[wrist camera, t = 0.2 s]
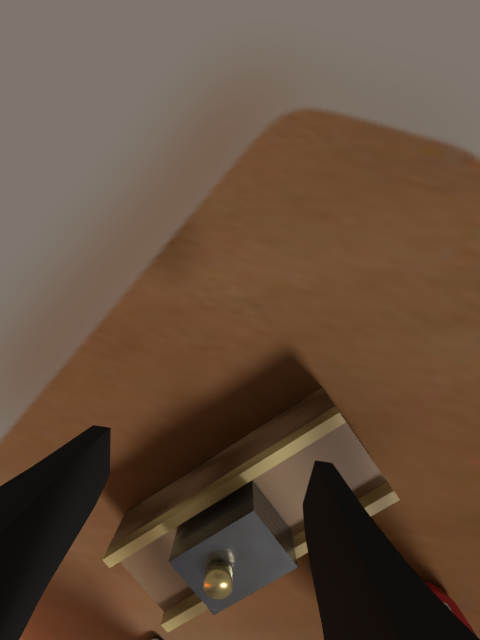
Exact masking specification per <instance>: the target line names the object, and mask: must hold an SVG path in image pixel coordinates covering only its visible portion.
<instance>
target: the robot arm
mask: <svg viewBox="0 0 480 640" xmlns="http://www.w3.org/2000/svg"><path fill="white" fill-rule="evenodd" d="M110 429H111V428H107V427H101V426H94V425H93V426H92V427H90V428H89V429H87V430H86V431H84V432H83V433H81V434H80V435H78V436H77V437H75V438H74V439H72V440H71V441H69V442H68V443H67V444H65V445H64V446H62V447H61V448H59V449H58V450H56V451H55V452H53V453H52V454H50V455H49V456H47V457H46V458H44V459H43V460H41V461H40V462H38V463H37V464H35V465H34V466H32V467H31V468H29V469H28V470H26V471H24V472H23V473H21V474H20V475H18V476H16V477H15V478H13V479H11V480H10V481H8V482H7V483H5V484H3V485H2V486H0V640H19V639H20V637H21V635H22V633H23V631H24V629H25V627H26V625H27V623H28V621H29V619H30V617H31V615H32V613H33V611H34V609H35V607H36V605H37V603H38V601H39V599H40V598H41V596H42V594H43V592H44V591H45V589H46V587H47V585H48V583H49V582H50V580H51V578H52V577H53V575H54V573H55V572H56V570H57V568H58V567H59V565H60V563H61V562H62V560H63V558H64V557H65V555H66V553H67V552H68V550H69V548H70V547H71V545H72V543H73V542H74V540H75V538H76V537H77V535H78V534H79V532H80V530H81V529H82V527H83V525H84V523H85V522H86V520H87V518H88V517H89V515H90V513H91V512H92V510H93V508H94V507H95V505H96V503H97V501H98V499H99V496H100V494H101V492H102V490H103V488H104V486H105V484H106V481H107V479H108V477H109V475H110ZM302 505H303V518H304V529H305V539H306V544H307V550H308V555H309V560H310V566H311V571H312V576H313V581H314V586H315V591H316V596H317V601H318V607H319V612H320V617H321V622H322V628H323V634H324V640H480V639H479V638H478V637H477V636H476V635H475V634H474V633H473V632H472V631H471V630H470V629H469V628H468V627H467V626H466V625H465V624H464V623H463V622H462V621H461V620H460V619H459V618H458V617H457V616H456V615H455V614H454V613H453V612H452V611H451V610H450V609H449V608H448V607H447V606H446V605H445V604H444V603H443V602H442V601H441V600H440V599H439V598H438V597H437V595H436V594H435V593H434V592H433V591H432V590H431V589H430V588H429V587H428V586H427V584H426V583H425V582H424V581H423V580H422V579H421V578H420V577H419V576H418V574H417V573H416V572H415V571H414V570H413V569H412V568H411V567H410V565H409V564H408V563H407V562H406V561H405V560H404V558H403V557H402V556H401V555H400V553H399V552H398V551H397V550H396V549H395V547H394V546H393V545H392V544H391V542H390V541H389V540H388V539H387V537H386V536H385V535H384V534H383V532H382V531H381V530H380V529H379V527H378V526H377V525H376V523H375V522H374V521H373V519H372V518H371V517H370V515H369V514H368V513H367V511H366V510H365V508H364V507H363V506H362V504H361V503H360V502H359V500H358V499H357V497H356V496H355V494H354V493H353V492H352V490H351V489H350V487H349V486H348V485H347V483H346V482H345V480H344V479H343V477H342V476H341V474H340V473H339V472H338V470H337V469H336V467H335V466H334V465H333V463H329V462H323V461H316V460H315V462H314V466H313V469H312V473H311V476H310V480H309V483H308V487H307V490H306V494H305V497H304V501H303V504H302ZM151 640H159V639H157V638H154V639H151Z"/></svg>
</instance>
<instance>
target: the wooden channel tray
mask: <svg viewBox="0 0 480 640" xmlns="http://www.w3.org/2000/svg"><path fill="white" fill-rule="evenodd" d="M315 460H316V461H323V462H329V463H333V465H334V466H335V467H336V469H337V470H338V472H339V473H340V474H341V476H342V477H343V479H344V480H345V482H346V483H347V485H348V486H349V487H350V489H351V490H352V492H353V493H354V494H355V496H356V497H357V499H358V500H359V502H360V503H361V504H362V506H363V507H364V508H365V510H366V511H367V513H368V514H369V515H370V517H371V516H373V515H374V514H376V513H378V512H380V511H381V510H383V509H385V508H387V507H388V506H390V505H392V504H394V503H395V502H397V501H399V500H400V499H399V498H398V496H397V495H396V493H395V492H394V490H393V489H392V487H391V486H390V485H389V483H388V482H387V480H386V479H385V477H384V476H383V474H382V473H381V471H380V470H379V468H378V467H377V465H376V464H375V462H374V461H373V459H372V458H371V457H370V455H369V454H368V452H367V451H366V449H365V448H364V446H363V445H362V444H361V442H360V441H359V439H358V438H357V436H356V435H355V433H354V432H353V431H352V429H351V428H350V426H349V425H348V423H347V422H346V420H345V419H344V418H343V416H342V415H341V413H340V412H339V410H338V409H337V407H336V406H335V405H334V403H333V402H332V400H331V399H330V397H329V396H328V394H327V393H326V392H325V390H324V389H323V387H322V388H320V389H319V390H317V391H315V392H314V393H312V394H311V395H309V396H308V397H306V398H304V399H303V400H301V401H300V402H298V403H297V404H295V405H293V406H292V407H290V408H289V409H287V410H286V411H284V412H282V413H281V414H279V415H278V416H276V417H275V418H273V419H272V420H270V421H268V422H267V423H265V424H264V425H262V426H261V427H259V428H257V429H256V430H254V431H253V432H251V433H250V434H248V435H246V436H245V437H243V438H242V439H240V440H239V441H237V442H235V443H234V444H232V445H231V446H229V447H228V448H226V449H224V450H223V451H221V452H220V453H218V454H217V455H215V456H214V457H212V458H210V459H209V460H207V461H206V462H204V463H203V464H201V465H199V466H198V467H196V468H195V469H193V470H192V471H190V472H188V473H187V474H185V475H184V476H182V477H181V478H179V479H177V480H176V481H174V482H173V483H171V484H170V485H168V486H166V487H165V488H163V489H162V490H160V491H159V492H157V493H156V494H154V495H152V496H151V497H149V498H148V499H146V500H145V501H143V502H141V503H140V504H138V505H137V506H135V507H134V508H132V509H130V510H129V511H127V512H126V513H125V515H124V517H123V519H122V521H121V523H120V525H119V527H118V529H117V531H116V533H115V535H114V537H113V539H112V541H111V543H110V545H109V547H108V549H107V551H106V553H105V555H104V558H103V561H104V562H105V563H106V565H107V566H108V567H109V568H111V567H112V566H114V565H115V564H117V563H119V562H120V563H121V564H122V565H123V566H124V567H125V568H126V569H127V571H128V572H129V573H130V574H131V575H132V576H133V577H134V578H135V579H136V581H137V582H138V583H139V584H140V585H141V586H142V587H143V588H144V590H145V591H146V592H147V593H148V594H149V595H150V596H151V597H152V599H153V600H154V601H155V602H156V603H157V604H158V605H159V606H160V608H161V609H162V610H163V611H164V614H163V619H162V623H161V626H162V627H163V628H164V629H165V630H166V631H167V632H170V631H171V630H173V629H175V628H177V627H178V626H180V625H182V624H184V623H185V622H187V621H189V620H191V619H192V618H194V617H196V616H198V615H199V614H201V613H203V612H205V611H206V610H208V607H207V606H206V605H205V604H204V603H203V602H202V600H201V599H200V598H199V597H198V596H197V595H196V593H195V592H194V591H193V590H192V589H191V588H190V586H189V585H188V584H187V583H186V582H185V581H184V580H183V578H182V577H181V576H180V575H179V574H178V573H177V571H176V570H175V569H174V568H173V567H172V566H171V564H170V563H169V558H170V554H171V551H172V547H173V543H174V539H175V535H176V531H177V527H178V526H179V525H180V524H182V523H183V522H185V521H187V520H188V519H190V518H192V517H193V516H195V515H196V514H198V513H200V512H201V511H203V510H205V509H206V508H208V507H209V506H211V505H213V504H214V503H216V502H218V501H219V500H221V499H222V498H224V497H226V496H227V495H229V494H231V493H232V492H234V491H235V490H237V489H239V488H240V487H242V486H243V485H245V484H247V483H248V482H250V481H252V480H253V481H254V482H255V483H256V485H257V486H258V487H259V489H260V490H261V491H262V493H263V494H264V495H265V496H266V498H267V499H268V500H269V502H270V503H271V504H272V506H273V507H274V508H275V509H276V511H277V512H278V513H279V515H280V516H281V517H282V519H283V520H284V521H285V522H286V524H287V525H288V526H289V528H290V529H291V531H292V537H293V542H294V548H295V553H296V559H297V558H299V557H301V556H303V555H304V554H306V553H308V550H307V544H306V539H305V529H304V518H303V505H302V504H303V501H304V497H305V494H306V490H307V487H308V483H309V480H310V476H311V473H312V469H313V466H314V462H315Z"/></svg>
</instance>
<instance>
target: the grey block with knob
mask: <svg viewBox="0 0 480 640" xmlns="http://www.w3.org/2000/svg"><path fill="white" fill-rule="evenodd" d="M169 563H170V564H171V566H172V567H173V568H174V569H175V570H176V571H177V573H178V574H179V575H180V576H181V577H182V578H183V580H184V581H185V582H186V583H187V584H188V585H189V586H190V588H191V589H192V590H193V591H194V592H195V593H196V595H197V596H198V597H199V598H200V599H201V600H202V602H203V603H204V604H205V605H206V606H207V607H208V609H209V610H210V611H211V612H212V613H213V614H214V615H215V614H216V613H218V612H220V611H222V610H224V609H225V608H227V607H229V606H231V605H232V604H234V603H236V602H238V601H239V600H241V599H243V598H245V597H246V596H248V595H250V594H252V593H254V592H255V591H257V590H259V589H261V588H262V587H264V586H266V585H268V584H269V583H271V582H273V581H275V580H276V579H278V578H280V577H282V576H283V575H285V574H287V573H289V572H291V571H292V570H294V569H296V568H298V564H297V559H296V553H295V548H294V542H293V537H292V531H291V529H290V528H289V526H288V525H287V524H286V522H285V521H284V520H283V519H282V517H281V516H280V515H279V513H278V512H277V511H276V509H275V508H274V507H273V506H272V504H271V503H270V502H269V500H268V499H267V498H266V496H265V495H264V494H263V493H262V491H261V490H260V489H259V487H258V486H257V485H256V483H255V482H254V481H253V480H252V481H250V482H248V483H247V484H245V485H243V486H242V487H240V488H239V489H237V490H235V491H234V492H232V493H231V494H229V495H227V496H226V497H224V498H222V499H221V500H219V501H218V502H216V503H214V504H213V505H211V506H209V507H208V508H206V509H205V510H203V511H201V512H200V513H198V514H196V515H195V516H193V517H192V518H190V519H188V520H187V521H185V522H183V523H182V524H180V525H179V526H178V527H177V531H176V535H175V539H174V543H173V547H172V551H171V554H170V558H169Z"/></svg>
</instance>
